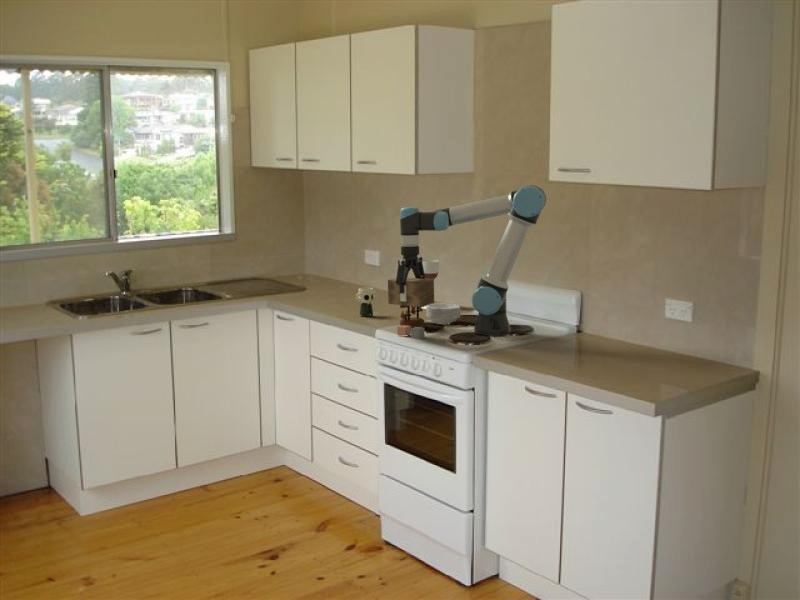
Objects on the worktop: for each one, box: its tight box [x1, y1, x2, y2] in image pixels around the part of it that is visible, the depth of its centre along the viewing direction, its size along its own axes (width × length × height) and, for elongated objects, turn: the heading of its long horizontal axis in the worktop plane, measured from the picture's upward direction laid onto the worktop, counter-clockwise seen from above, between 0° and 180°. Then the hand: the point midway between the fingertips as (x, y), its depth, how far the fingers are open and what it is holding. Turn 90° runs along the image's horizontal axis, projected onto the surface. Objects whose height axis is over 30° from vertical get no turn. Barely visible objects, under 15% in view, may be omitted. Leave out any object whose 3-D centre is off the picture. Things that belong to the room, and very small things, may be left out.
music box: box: [399, 305, 425, 327], centre depth 398 cm, size 15×11×20 cm
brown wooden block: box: [387, 276, 435, 308], centre depth 376 cm, size 16×10×10 cm, turn 53°
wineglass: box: [421, 259, 440, 310], centre depth 449 cm, size 9×10×23 cm
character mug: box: [355, 287, 377, 317], centre depth 428 cm, size 11×7×13 cm, turn 126°
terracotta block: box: [396, 325, 411, 336], centre depth 381 cm, size 4×4×4 cm
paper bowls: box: [425, 302, 462, 325], centre depth 408 cm, size 15×15×8 cm
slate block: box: [410, 327, 426, 340], centre depth 377 cm, size 4×4×4 cm
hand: (411, 299), depth 377 cm, fingers closed on brown wooden block, 10 cm apart
